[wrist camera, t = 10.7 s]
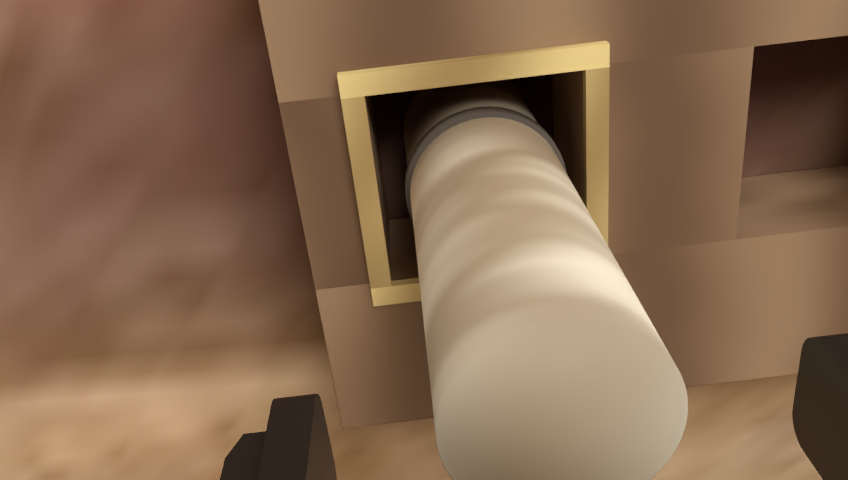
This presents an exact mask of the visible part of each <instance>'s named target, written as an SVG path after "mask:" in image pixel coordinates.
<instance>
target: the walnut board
mask: <svg viewBox="0 0 848 480" xmlns="http://www.w3.org/2000/svg"><path fill="white" fill-rule="evenodd" d="M258 1H259V7H260V12H261V17H262V22H263V27H264V32H265V37H266V42H267V47H268V52H269V57H270V62H271V67H272V72H273V77H274V83H275V88H276V93H277V98H278V103H279V108H280V113H281V118H282V123H283V128H284V133H285V138H286V143H287V148H288V154H289V159H290V164H291V169H292V174H293V179H294V184H295V189H296V194H297V199H298V204H299V209H300V214H301V219H302V225H303V230H304V235H305V240H306V245H307V250H308V255H309V260H310V265H311V270H312V275H313V280H314V285H315V290H316V296H317V301H318V306H319V311H320V316H321V321H322V326H323V331H324V336H325V341H326V346H327V351H328V356H329V361H330V367H331V372H332V377H333V382H334V387H335V392H336V397H337V402H338V407H339V412H340V417H341V422H342V427H343V429H344V428H353V427H361V426H369V425H377V424H386V423H394V422H402V421H410V420H419V419H427V418H434V415H433V406H432V396H431V387H430V378H429V368H428V359H427V349H426V340H425V331H424V321H423V312H422V302H421V293H420V283H419V274H418V265H417V255H416V246H415V236H414V227H413V221H412V219H411V217H409V218H400V219H392V220H389V219H388V212H387V205H386V197H385V190H384V183H383V176H382V169H381V161H380V154H379V147H378V140H377V133H376V125H375V118H374V111H373V104H372V97H371V95H380V94H388V93H396V92H405V91H413V90H422V89H430V88H439V87H447V86H455V85H464V84H472V83H481V82H489V81H497V80H506V79H514V78H523V77H531V76H540V75H548V74H552V90H553V127H554V143H555V145H556V146H557V148H558V150H559V151H560V153H561V156H562V158H563V161H564V164H565V168H566V173H567V175H568V177H569V179H570V180H571V182H572V184H573V186H574V187H575V189H576V191H577V193H578V194H579V196H580V198H581V200H582V201H583V203H584V205H585V207H586V208H587V210H588V212H589V214H590V215H591V217H592V219H593V221H594V222H595V224H596V226H597V228H598V229H599V231H600V233H601V235H602V236H603V238H604V240H605V242H606V243H607V245H608V247H609V249H610V250H611V252H612V254H613V256H614V257H615V259H616V261H617V263H618V264H619V266H620V268H621V270H622V271H623V273H624V275H625V277H626V278H627V280H628V282H629V284H630V285H631V287H632V289H633V291H634V292H635V294H636V296H637V298H638V299H639V301H640V303H641V305H642V306H643V308H644V310H645V312H646V313H647V315H648V317H649V319H650V320H651V322H652V324H653V326H654V327H655V329H656V331H657V333H658V335H659V336H660V338H661V340H662V342H663V343H664V345H665V347H666V349H667V350H668V352H669V354H670V356H671V357H672V359H673V361H674V363H675V364H676V366H677V368H678V370H679V371H680V373H681V375H682V378H683V381H684V383H685V386H686V387H691V386H700V385H708V384H716V383H724V382H733V381H741V380H749V379H757V378H766V377H774V376H782V375H791V374H798V370H799V363H800V356H801V350H802V346H803V343H804V341H805V340H806V339H807V338H810V337H818V336H827V335H835V334H844V333H848V165H843V166H835V167H827V168H818V169H810V170H802V171H793V172H785V173H777V174H768V175H760V176H751V177H743V178H742V169H743V159H744V148H745V138H746V127H747V117H748V106H749V96H750V85H751V75H752V64H753V53H754V46H763V45H771V44H780V43H788V42H797V41H805V40H813V39H822V38H830V37H839V36H847V35H848V0H258Z"/></svg>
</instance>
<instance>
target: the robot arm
mask: <svg viewBox="0 0 848 480" xmlns="http://www.w3.org/2000/svg"><path fill="white" fill-rule="evenodd" d="M793 425H794V429H795V433H796V436H797V439H798V442H799V444H800V446H801V448H802V449H803V451H804V452H805V454H806V455H807V457H808V458H809V460H810V461H811V463H812V464H813V465H814V467H815V468H816V470H817V471H818V473H819V474H820V476H821V477H822V479H823V480H848V333H844V334H835V335H827V336H818V337H810V338H807V339H806V340H805V341H804V343H803V346H802V350H801V356H800V363H799V370H798V377H797V383H796V390H795V397H794V404H793ZM220 480H337V478H336V470H335V463H334V458H333V454H332V449H331V444H330V439H329V435H328V430H327V425H326V421H325V416H324V411H323V407H322V402H321V399H320V396H319V395H318V394H311V395H303V396H294V397H286V398H277V399H274V400H273V401H272V404H271V409H270V415H269V420H268V425H267V431H265V432H257V433H248V434H243V435H242V437H241V438H240V439H239V441H238V442H237V443H236V445H235V446H234V447H233V449H232V450H231V451H230V453H229V454H228V455H227V457H226V458H225V461H224V466H223V470H222V474H221V478H220Z"/></svg>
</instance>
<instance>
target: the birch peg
mask: <svg viewBox="0 0 848 480" xmlns="http://www.w3.org/2000/svg"><path fill="white" fill-rule="evenodd" d="M403 130H404V142H405V152H406V161H407V170H406V175H405V194H406V203H407V208H408V211H409V214H410V217H411V219H412V221H413V227H414V236H415V246H416V255H417V265H418V274H419V283H420V293H421V302H422V312H423V321H424V331H425V340H426V349H427V359H428V368H429V378H430V387H431V396H432V406H433V415H434V425H435V434H436V443H437V447H438V452H439V455H440V458H441V460H442V463H443V465H444V467H445V469H446V470H447V472H448V474H449V475H450V477H451V478H452V479H453V480H651V479H652V478H653V477H654V476H655V475H656V474H657V473H658V472H659V471H660V470H661V469H662V468H663V467H664V465H665V464H666V463H667V462H668V461H669V459H670V458H671V456H672V455H673V453H674V452H675V450H676V448H677V446H678V444H679V442H680V440H681V438H682V436H683V432H684V429H685V426H686V422H687V415H688V397H687V391H686V386H685V383H684V381H683V378H682V375H681V373H680V371H679V370H678V368H677V366H676V364H675V363H674V361H673V359H672V357H671V356H670V354H669V352H668V350H667V349H666V347H665V345H664V343H663V342H662V340H661V338H660V336H659V335H658V333H657V331H656V329H655V327H654V326H653V324H652V322H651V320H650V319H649V317H648V315H647V313H646V312H645V310H644V308H643V306H642V305H641V303H640V301H639V299H638V298H637V296H636V294H635V292H634V291H633V289H632V287H631V285H630V284H629V282H628V280H627V278H626V277H625V275H624V273H623V271H622V270H621V268H620V266H619V264H618V263H617V261H616V259H615V257H614V256H613V254H612V252H611V250H610V249H609V247H608V245H607V243H606V242H605V240H604V238H603V236H602V235H601V233H600V231H599V229H598V228H597V226H596V224H595V222H594V221H593V219H592V217H591V215H590V214H589V212H588V210H587V208H586V207H585V205H584V203H583V201H582V200H581V198H580V196H579V194H578V193H577V191H576V189H575V187H574V186H573V184H572V182H571V180H570V179H569V177H568V175H567V173H566V168H565V164H564V161H563V158H562V156H561V153H560V151H559V150H558V148H557V146H556V145H555V143H554V141H553V140H552V138H551V137H550V135H549V134H548V133H547V132H546V130H545V129H544V128H543V127H542V126H540V125H539V124H538V123H537V121H536V119H535V117H534V116H533V114H532V112H531V110H530V109H529V107H528V105H527V103H526V101H525V100H524V98H523V96H522V95H521V93H520V91H519V90H518V89H517V87H516V86H515V85H514V84H513V83H512V82H511V81H510V80H509V79H506V80H497V81H489V82H481V83H472V84H464V85H455V86H447V87H439V88H430V89H422V90H417V92H416V93H415V94H414V96H413V97H412V99H411V101H410V103H409V105H408V108H407V110H406V114H405V118H404V127H403Z"/></svg>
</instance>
